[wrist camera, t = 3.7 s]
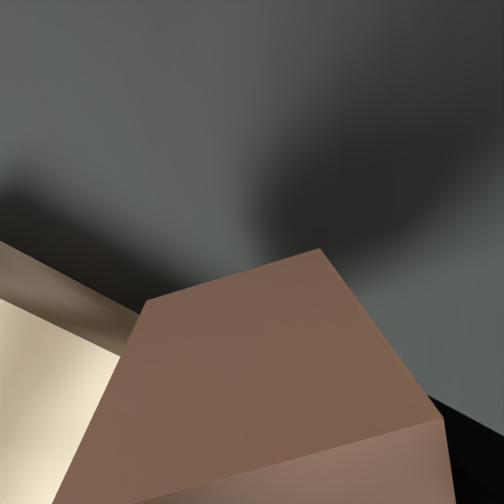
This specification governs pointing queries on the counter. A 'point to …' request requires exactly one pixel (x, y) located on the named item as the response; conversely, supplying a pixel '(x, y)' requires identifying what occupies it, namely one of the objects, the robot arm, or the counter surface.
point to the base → (50, 371)
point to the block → (261, 402)
